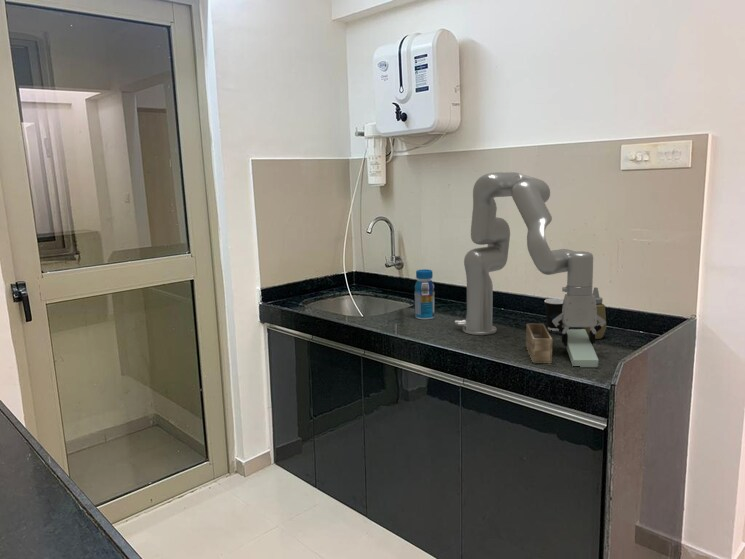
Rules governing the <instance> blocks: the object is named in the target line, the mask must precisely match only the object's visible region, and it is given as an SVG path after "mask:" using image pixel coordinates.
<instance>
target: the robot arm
mask: <svg viewBox="0 0 745 559" xmlns="http://www.w3.org/2000/svg"><path fill="white" fill-rule="evenodd" d="M550 189H551V188H550V187H549V185H548V183H547V182H545V181H544V180H542V179H539V178H537V177H532V176H530V175H526V174H523V173H519V172H512V171H509V172H508V171H507V172H502V171H500V172H498V171H497V172H490V173H485V174H484V175H481V176H480V177H479V178H477V179H476V181H475V183H474V185H473V189H472V211H471V212H472V213H471V214H472V215H471V225H470V238H471V239H470V240H471V242H472V243H474V244H475V245H480V246H481V245H482V247H477V248H476V247H475V248H473V249H470V250H469V251H467V253H466V254H465V256H464V260H463V263H464V270H465V277H466V317H465V318H463V319H461V320H460V319H455V320H454V326H458V327H462V331H463V332H464V333H465V334H467V335H468V334H469V335H473V336H474V335H476V336H485V335H488V336H489V335H493V334H495V333H497V327H496V326H494V325H493V307H494V306H493V302H494V301H493V295H494V294H493V293H494V292H493V281H492V278H491V276H490V273H492V272H497V271H501V270H502V269H503V268H504V267H505V266H506V265H507V262H508V257H509V248H510V237H511V230H510V229H511V228H510V226H509V223H508V222H507V220H505V219H504V218H502V217H498V216H497V209H498V208H497V204H496V201H495V198H504V197H512V200H513V202H514V205H515V206H516V209H517V210H518V212H519V214H520V216H521V218H522V221H523V222H524V224H525V226H526V227H527V228H526V229H527V235H526V246H527V250H528V253H529V256H530V258H531V260H532V262H533V264H534V265H535V267H536V269H537V270H538V272H540V273H541V274H543V275H546V276H549V275H550V276H551V275H556V274H560V273H566V274H567V276H566V279H567V280H566V282H567V283H566V286H562V288H561V292H565V293H566V294H564V297H563V300H564V301H563V308H562V313H561V314H560V315H559V316H557V317H556V318H555V319H553V320H552V322H553V324H554V325H555V326H556V327H557V328H558V329H559V330H560V331H559V332H561V343H562V344H563V345H564V346H565V347H566V346H567V343H568V334H567V330H568V329H569V328H582V327H589V328H590V330H591V331H590V333H589V340H590V342H591V344H592V346H593V347H594V344H596V339H595V334H596V333H597V332H598V331H599V330H600V329H601V327H603V325H604V324H605V323H606V324H607V320H606V321H605V320H604V319H602V318H601V317H600V316H599V315H597V308H596V299H595V295H593V278H594V277H593V276H594V275H593V274H594V255H593V253H592V252H589V251H581V250H580V251H577V250H576V251H575V250H572V249H568V248H561V249H552V250H551V248H550V246H549V244H548V242H547V239H546V235H545V234H546V229H547V227H548V225H550V223H551V222H552V221H553V218H552V217H553V216H552V214H551V213H550V210H549V209H548V207H547V205H546V202H548V200H549V199H550V198H551V190H550ZM483 245H487V246H483ZM561 319H562V322H563V324H562V327H561V326H560V325H559V323H558V322H559V321H560V320H561ZM597 320H598V321H599V324H597ZM594 326H595V327H594Z"/></svg>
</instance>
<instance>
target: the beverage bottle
mask: <svg viewBox="0 0 745 559" xmlns="http://www.w3.org/2000/svg"><path fill="white" fill-rule="evenodd" d="M415 275H416V277H415V278H416V279H417V280H416V282H415V285H414V312H415V313H414V316H415V318H416V319H417V320H425V321H426V320H433V319H434V318H435V317H436V315H435V295H436V292H435V290H434V289H435V284H434V282H433V280H432V279H433V269H432V270H431V269H426V268H425V269H418V270H416V271H415Z"/></svg>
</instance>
